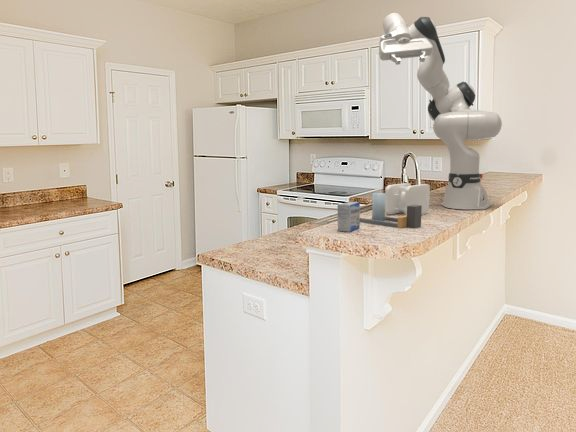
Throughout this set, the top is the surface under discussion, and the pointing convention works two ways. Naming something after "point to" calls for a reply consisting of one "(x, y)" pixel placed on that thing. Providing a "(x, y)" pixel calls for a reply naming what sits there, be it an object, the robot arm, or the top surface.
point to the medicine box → (348, 216)
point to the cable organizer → (406, 197)
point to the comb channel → (401, 219)
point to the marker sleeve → (378, 206)
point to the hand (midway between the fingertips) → (410, 61)
